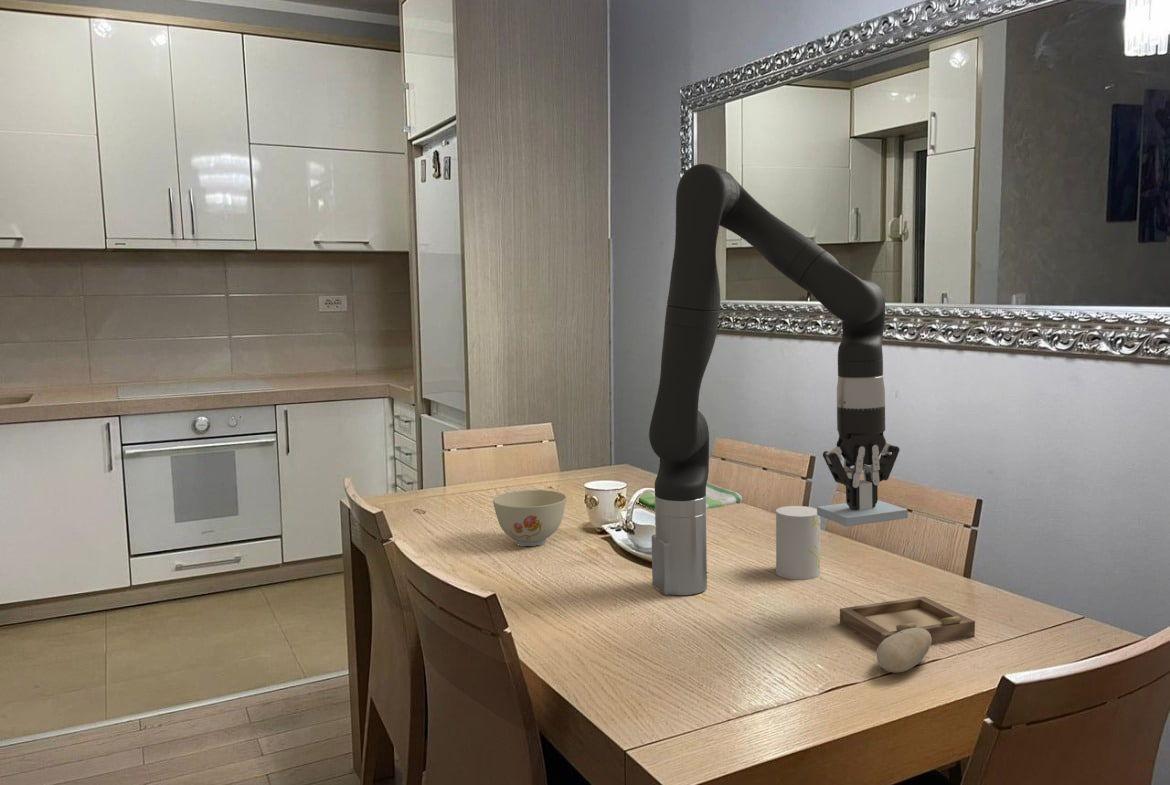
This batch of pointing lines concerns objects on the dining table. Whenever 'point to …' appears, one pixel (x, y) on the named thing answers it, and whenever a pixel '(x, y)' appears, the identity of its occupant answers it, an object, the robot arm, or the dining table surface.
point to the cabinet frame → (906, 620)
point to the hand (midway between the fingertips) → (862, 507)
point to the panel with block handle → (862, 510)
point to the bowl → (530, 514)
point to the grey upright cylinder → (797, 542)
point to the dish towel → (713, 497)
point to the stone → (903, 649)
